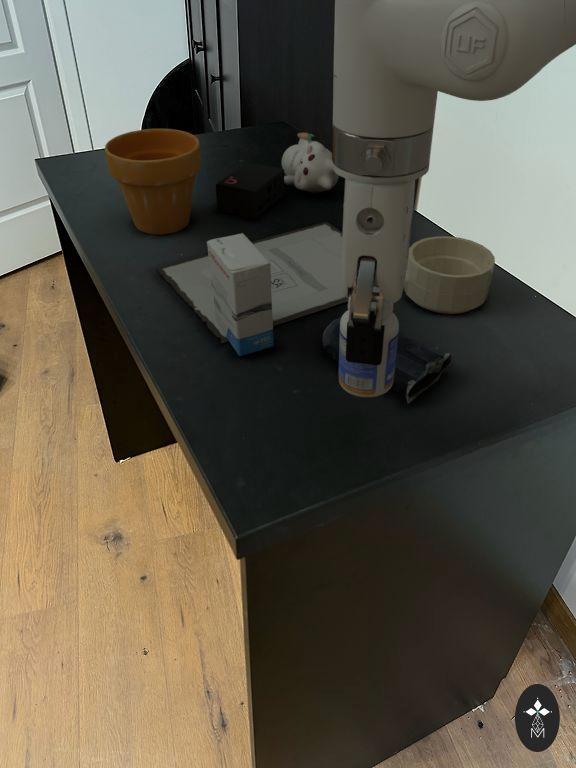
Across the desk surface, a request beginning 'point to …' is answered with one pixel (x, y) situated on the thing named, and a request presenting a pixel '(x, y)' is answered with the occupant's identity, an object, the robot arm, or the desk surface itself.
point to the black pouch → (400, 362)
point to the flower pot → (156, 176)
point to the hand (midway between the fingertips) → (368, 340)
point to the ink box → (241, 293)
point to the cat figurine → (309, 166)
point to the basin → (448, 274)
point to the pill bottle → (365, 376)
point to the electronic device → (250, 190)
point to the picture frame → (274, 275)
